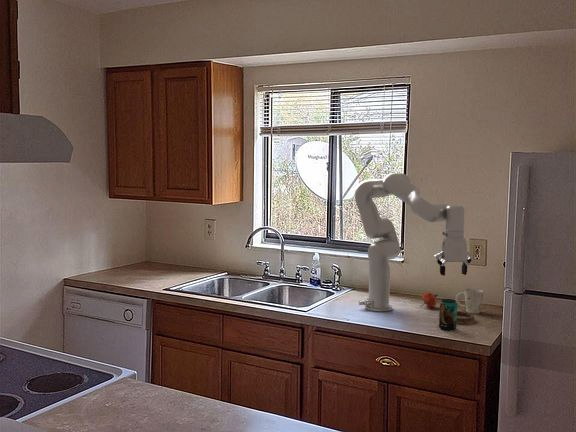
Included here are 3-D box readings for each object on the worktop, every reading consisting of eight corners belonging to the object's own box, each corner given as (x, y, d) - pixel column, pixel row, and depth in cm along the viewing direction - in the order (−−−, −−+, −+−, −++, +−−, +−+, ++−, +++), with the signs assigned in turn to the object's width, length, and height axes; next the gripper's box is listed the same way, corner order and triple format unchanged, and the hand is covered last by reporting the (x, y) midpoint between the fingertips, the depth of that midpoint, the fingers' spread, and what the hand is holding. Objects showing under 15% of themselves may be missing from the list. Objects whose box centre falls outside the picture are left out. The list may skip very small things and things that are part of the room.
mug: (479, 315, 286) (480, 293, 285) (452, 311, 293) (453, 289, 292) (484, 311, 293) (485, 290, 292) (457, 307, 300) (458, 286, 299)
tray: (453, 325, 268) (454, 319, 268) (435, 317, 281) (435, 311, 281) (481, 323, 273) (481, 317, 272) (462, 314, 286) (462, 309, 286)
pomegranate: (422, 313, 296) (440, 302, 293) (413, 300, 298) (431, 289, 294) (425, 311, 303) (443, 301, 299) (417, 298, 304) (434, 287, 301)
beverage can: (435, 328, 263) (436, 300, 262) (444, 325, 268) (445, 297, 266) (450, 332, 258) (451, 303, 257) (459, 329, 263) (460, 300, 261)
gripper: (439, 236, 262) (437, 277, 264) (477, 235, 265) (476, 275, 267) (431, 233, 270) (430, 273, 271) (469, 233, 273) (468, 272, 274)
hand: (453, 274), depth 269 cm, fingers open, 9 cm apart
